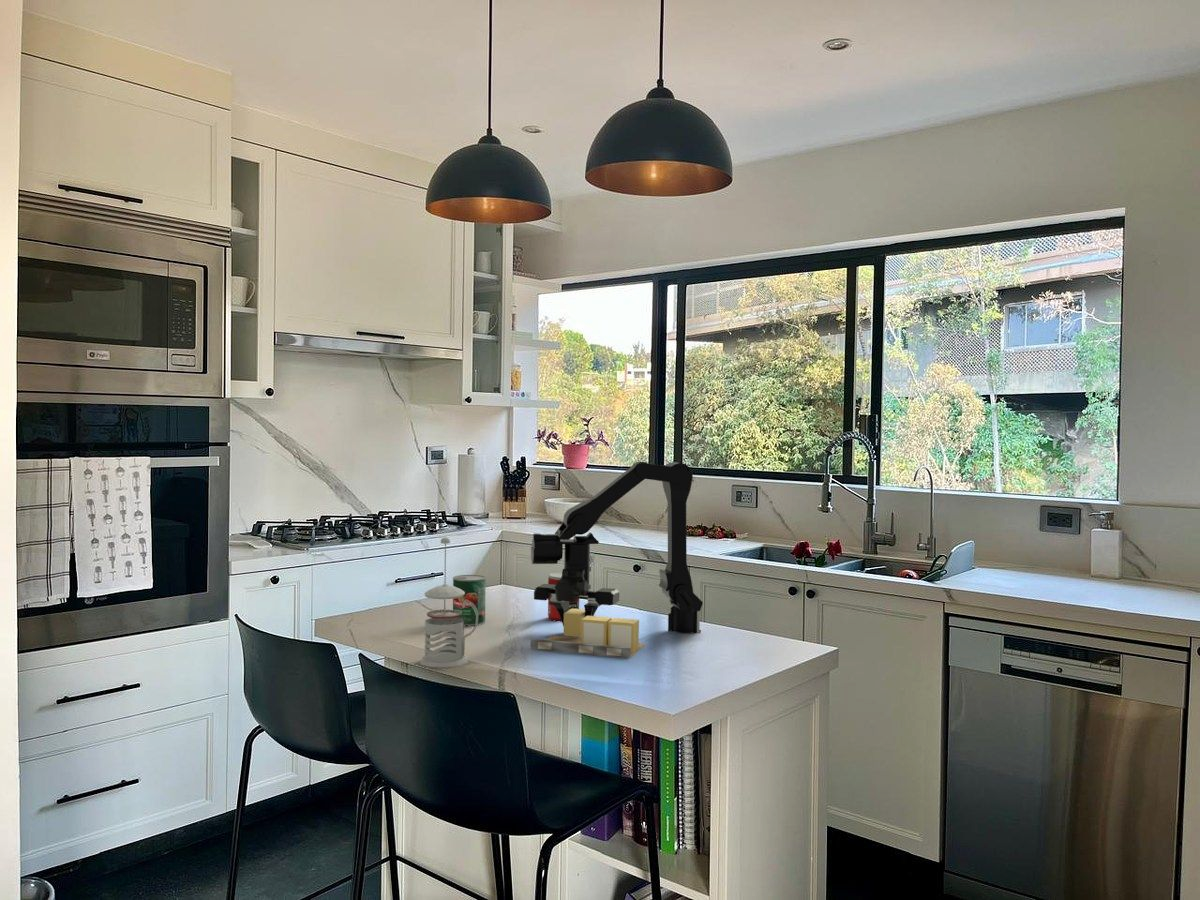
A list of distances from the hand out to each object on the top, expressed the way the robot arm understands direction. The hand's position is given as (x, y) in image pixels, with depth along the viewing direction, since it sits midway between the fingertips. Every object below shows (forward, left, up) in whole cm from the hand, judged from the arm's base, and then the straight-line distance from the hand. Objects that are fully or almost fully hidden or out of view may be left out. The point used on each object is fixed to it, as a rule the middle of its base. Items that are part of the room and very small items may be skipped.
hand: (576, 632), depth 200 cm
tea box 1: (-8, +10, 0) cm, 13 cm away
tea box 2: (-14, +10, 0) cm, 17 cm away
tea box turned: (0, 0, -1) cm, 1 cm away
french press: (+18, +28, -2) cm, 33 cm away
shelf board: (-6, +11, -1) cm, 12 cm away
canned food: (+10, -18, -2) cm, 20 cm away
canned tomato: (+30, -6, -2) cm, 30 cm away
